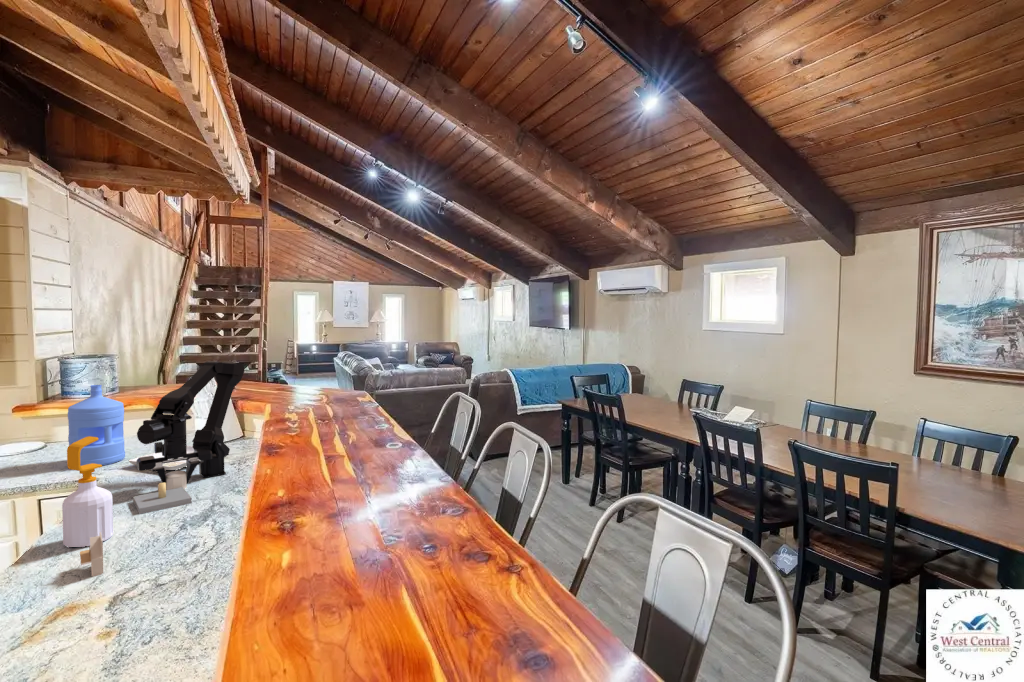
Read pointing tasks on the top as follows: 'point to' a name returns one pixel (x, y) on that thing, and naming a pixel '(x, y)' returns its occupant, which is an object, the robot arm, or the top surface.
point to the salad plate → (159, 455)
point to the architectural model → (94, 555)
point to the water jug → (98, 428)
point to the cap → (176, 480)
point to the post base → (161, 499)
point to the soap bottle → (86, 503)
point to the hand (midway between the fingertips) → (176, 486)
